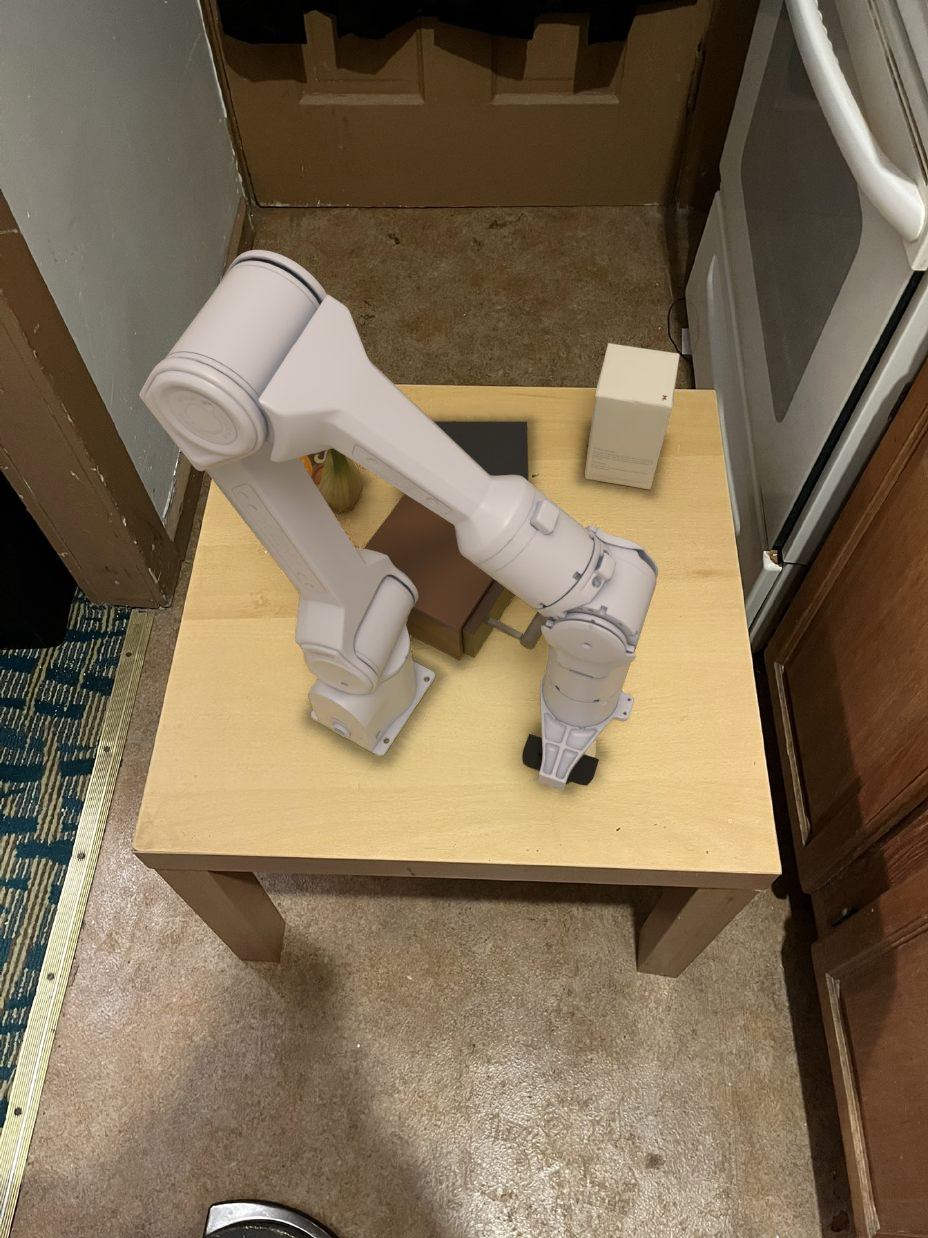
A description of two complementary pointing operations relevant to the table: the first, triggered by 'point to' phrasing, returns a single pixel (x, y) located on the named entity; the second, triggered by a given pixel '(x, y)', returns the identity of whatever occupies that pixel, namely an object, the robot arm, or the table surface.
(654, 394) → the white packaging box
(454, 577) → the cabinet
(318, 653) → the robot arm
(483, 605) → the drawer
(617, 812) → the table surface
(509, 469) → the mat
